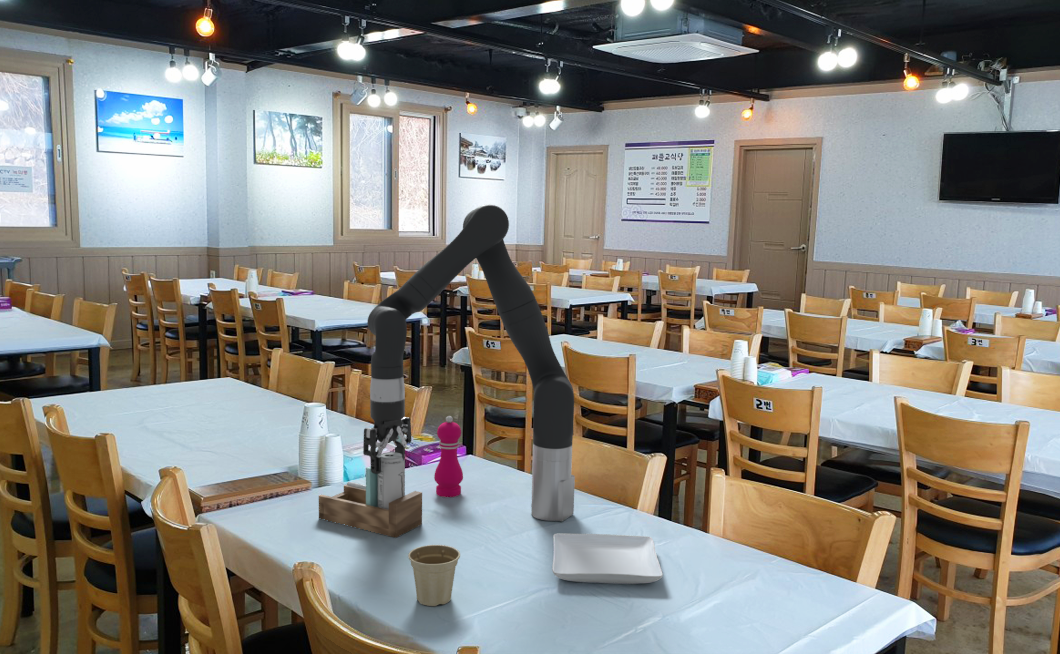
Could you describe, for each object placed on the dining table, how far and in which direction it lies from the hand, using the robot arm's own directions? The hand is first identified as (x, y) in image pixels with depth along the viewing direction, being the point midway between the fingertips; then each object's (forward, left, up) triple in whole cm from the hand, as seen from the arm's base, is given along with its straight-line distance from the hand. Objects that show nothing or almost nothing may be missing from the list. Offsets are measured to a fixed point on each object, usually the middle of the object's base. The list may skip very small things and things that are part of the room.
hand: (388, 468), depth 191 cm
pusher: (+7, 0, -12) cm, 14 cm away
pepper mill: (+1, -26, -14) cm, 30 cm away
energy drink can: (-1, 0, -12) cm, 12 cm away
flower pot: (-30, +25, -14) cm, 41 cm away
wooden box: (+5, 0, -14) cm, 14 cm away
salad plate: (-51, -5, -14) cm, 53 cm away
